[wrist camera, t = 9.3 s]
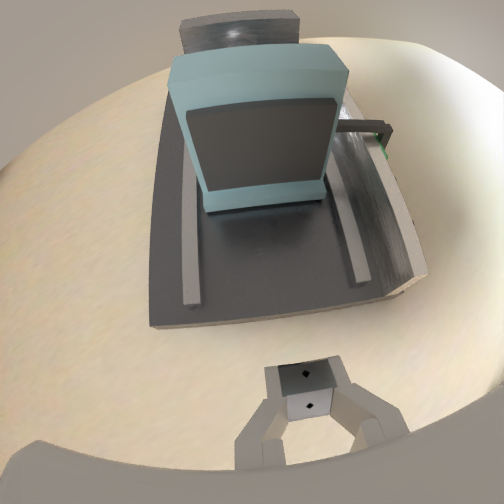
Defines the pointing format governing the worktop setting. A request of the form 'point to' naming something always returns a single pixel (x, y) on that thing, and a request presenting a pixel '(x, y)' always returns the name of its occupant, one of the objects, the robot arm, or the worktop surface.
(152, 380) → the worktop surface
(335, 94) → the gauge slider
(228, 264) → the frame
